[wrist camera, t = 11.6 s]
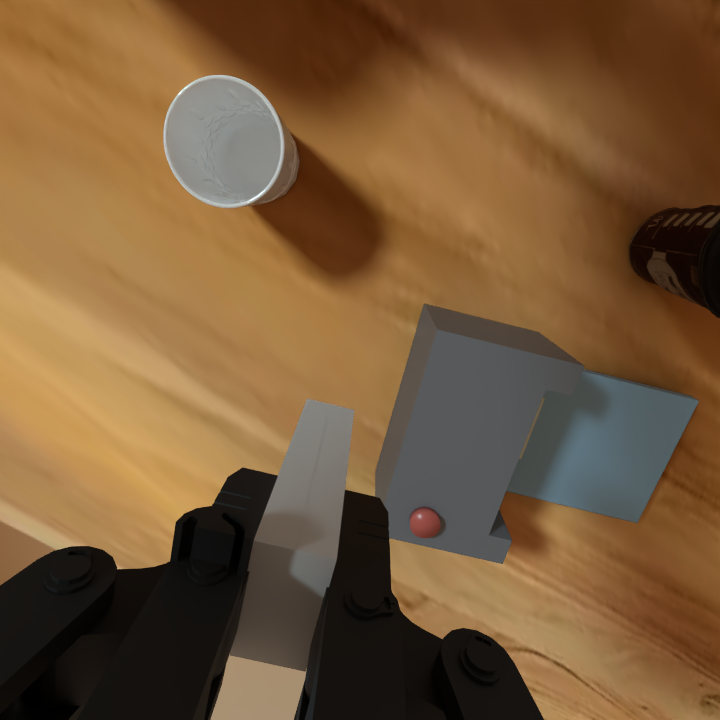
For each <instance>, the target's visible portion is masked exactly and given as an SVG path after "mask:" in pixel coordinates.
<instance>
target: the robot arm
mask: <svg viewBox="0 0 720 720" xmlns="http://www.w3.org/2000/svg"><path fill="white" fill-rule="evenodd" d="M353 416H354V410H352V409H348V408H344V407H340V406H336V405H331V404H327V403H323V402H319V401H315V400H311V399H307V401H306V403H305V406H304V408H303V411H302V414H301V416H300V419H299V422H298V424H297V427H296V430H295V432H294V435H293V438H292V440H291V443H290V446H289V448H288V451H287V453H286V456H285V459H284V461H283V464H282V467H281V469H280V472H279V475H278V476H277V475H273V474H268V473H264V472H260V471H255V470H251V469H247V468H241V469H240V470H238V471H237V472H235V473H233V474H232V475H230V476H229V477H228V478H227V480H226V482H225V483H224V485H223V487H222V489H221V491H220V493H219V494H218V496H217V498H216V499H215V502H214V504H213V505H212V506H209V507H202V508H196V509H194V510H192V511H190V512H187V513H185V514H184V515H183V516H182V517H181V518H180V519H179V520H178V521H177V522H176V525H175V532H174V539H173V546H172V552H171V559H170V562H168V563H166V564H163V565H159V566H156V567H150V568H142V569H117V566H116V564H115V561H114V559H113V557H112V556H110V555H109V554H108V553H106V552H105V551H104V550H101V549H97V548H94V547H90V546H74V547H68V548H64V549H60V550H56V551H53V552H51V553H49V554H47V555H45V556H43V557H41V558H40V559H38V560H36V561H35V562H33V563H32V564H31V565H29V566H28V567H26V568H25V569H23V570H22V571H20V572H19V573H18V574H16V575H15V576H13V577H12V578H11V579H9V580H8V581H6V582H5V583H3V584H2V585H0V720H210V719H211V715H212V713H213V710H214V707H215V704H216V701H217V697H218V694H219V691H220V688H221V685H222V681H223V676H224V671H225V666H226V663H227V660H228V657H229V654H230V655H231V656H236V657H241V658H245V659H250V660H255V661H260V662H264V663H269V664H273V665H278V666H283V667H287V668H292V669H296V670H301V671H306V668H307V672H306V678H305V682H304V685H303V689H302V693H301V696H300V700H299V703H298V707H297V711H296V714H295V718H294V720H544V719H543V717H542V715H541V713H540V711H539V709H538V707H537V705H536V703H535V701H534V700H533V698H532V696H531V694H530V692H529V690H528V688H527V686H526V684H525V683H524V681H523V679H522V677H521V675H520V673H519V671H518V669H517V667H516V665H515V664H514V662H513V660H512V659H511V658H510V656H509V655H508V653H507V652H506V651H505V649H504V648H503V647H501V646H500V645H499V644H498V643H497V642H496V641H495V640H493V639H492V638H491V637H489V636H487V635H485V634H483V633H481V632H479V631H476V630H471V629H466V628H461V629H456V630H452V631H451V632H450V633H448V634H447V635H446V636H445V637H444V638H443V639H441V638H439V637H437V636H435V635H433V634H431V633H429V632H427V631H425V630H423V629H422V628H420V627H419V626H417V625H415V624H414V623H412V622H411V621H410V620H409V619H408V618H407V617H406V616H405V615H403V613H402V612H401V611H400V608H399V604H398V601H397V599H396V597H395V596H394V595H393V593H392V590H391V571H390V544H389V530H388V529H389V517H388V511H387V509H386V507H385V506H384V504H383V502H382V501H381V499H380V498H378V497H374V496H369V495H365V494H361V493H357V492H352V491H348V490H345V485H346V476H347V468H348V459H349V451H350V442H351V433H352V425H353Z"/></svg>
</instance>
